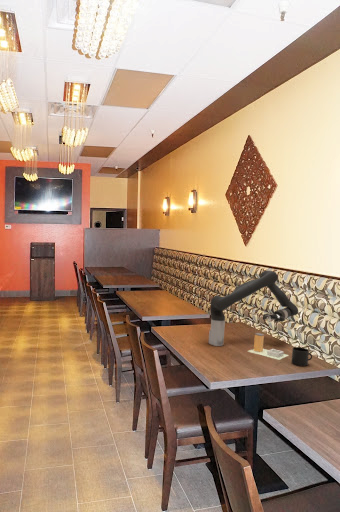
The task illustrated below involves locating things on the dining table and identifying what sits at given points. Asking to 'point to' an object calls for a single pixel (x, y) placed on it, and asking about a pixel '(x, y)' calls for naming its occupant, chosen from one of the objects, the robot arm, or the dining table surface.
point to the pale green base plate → (270, 353)
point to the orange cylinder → (258, 342)
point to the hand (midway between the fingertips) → (269, 319)
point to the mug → (300, 356)
